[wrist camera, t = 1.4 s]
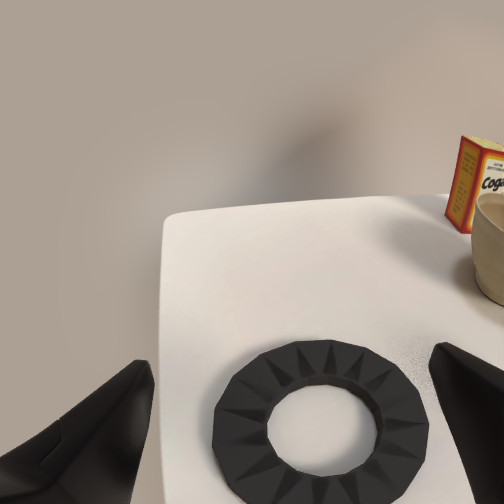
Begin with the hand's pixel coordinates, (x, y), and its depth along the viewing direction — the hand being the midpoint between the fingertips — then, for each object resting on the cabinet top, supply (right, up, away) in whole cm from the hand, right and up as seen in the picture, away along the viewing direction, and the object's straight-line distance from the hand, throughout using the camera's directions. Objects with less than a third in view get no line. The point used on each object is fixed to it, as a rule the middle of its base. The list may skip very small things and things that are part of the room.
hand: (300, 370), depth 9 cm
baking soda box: (+39, +8, +40) cm, 57 cm away
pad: (+4, -11, +13) cm, 18 cm away
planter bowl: (+34, -2, +26) cm, 42 cm away
